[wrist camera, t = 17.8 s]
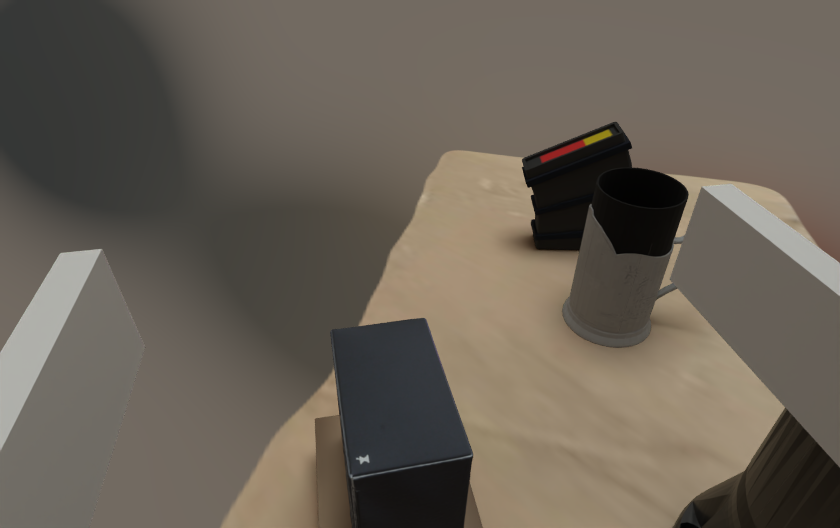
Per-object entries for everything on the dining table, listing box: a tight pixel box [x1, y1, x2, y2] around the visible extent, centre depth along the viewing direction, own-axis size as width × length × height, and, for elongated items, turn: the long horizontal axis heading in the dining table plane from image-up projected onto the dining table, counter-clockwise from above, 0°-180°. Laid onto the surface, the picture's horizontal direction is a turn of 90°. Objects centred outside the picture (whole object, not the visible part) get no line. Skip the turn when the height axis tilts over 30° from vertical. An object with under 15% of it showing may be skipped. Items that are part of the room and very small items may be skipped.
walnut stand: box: [315, 415, 483, 528], centre depth 36 cm, size 10×14×4 cm
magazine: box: [522, 122, 632, 250], centre depth 63 cm, size 4×13×15 cm, turn 88°
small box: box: [330, 318, 473, 528], centre depth 32 cm, size 11×6×10 cm, turn 13°
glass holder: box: [562, 168, 688, 347], centre depth 51 cm, size 9×14×15 cm, turn 87°
